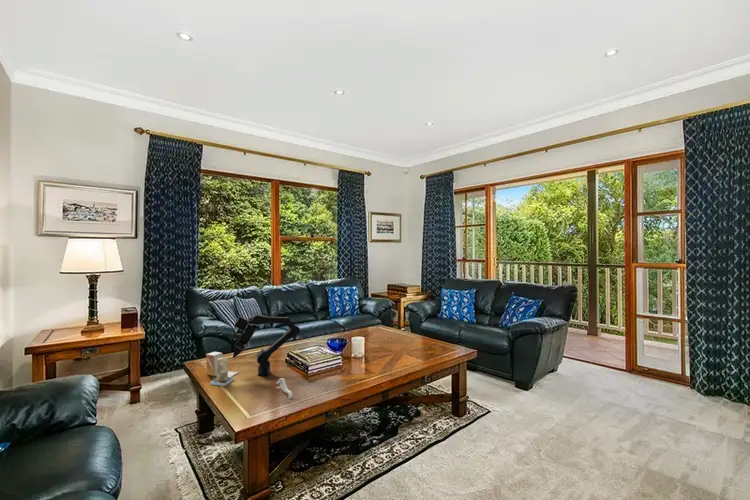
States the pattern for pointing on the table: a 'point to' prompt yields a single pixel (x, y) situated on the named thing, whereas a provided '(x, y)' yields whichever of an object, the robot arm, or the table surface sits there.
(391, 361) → the table surface
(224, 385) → the light blue square frame
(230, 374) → the mat
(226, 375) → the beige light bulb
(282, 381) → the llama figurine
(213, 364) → the small box
